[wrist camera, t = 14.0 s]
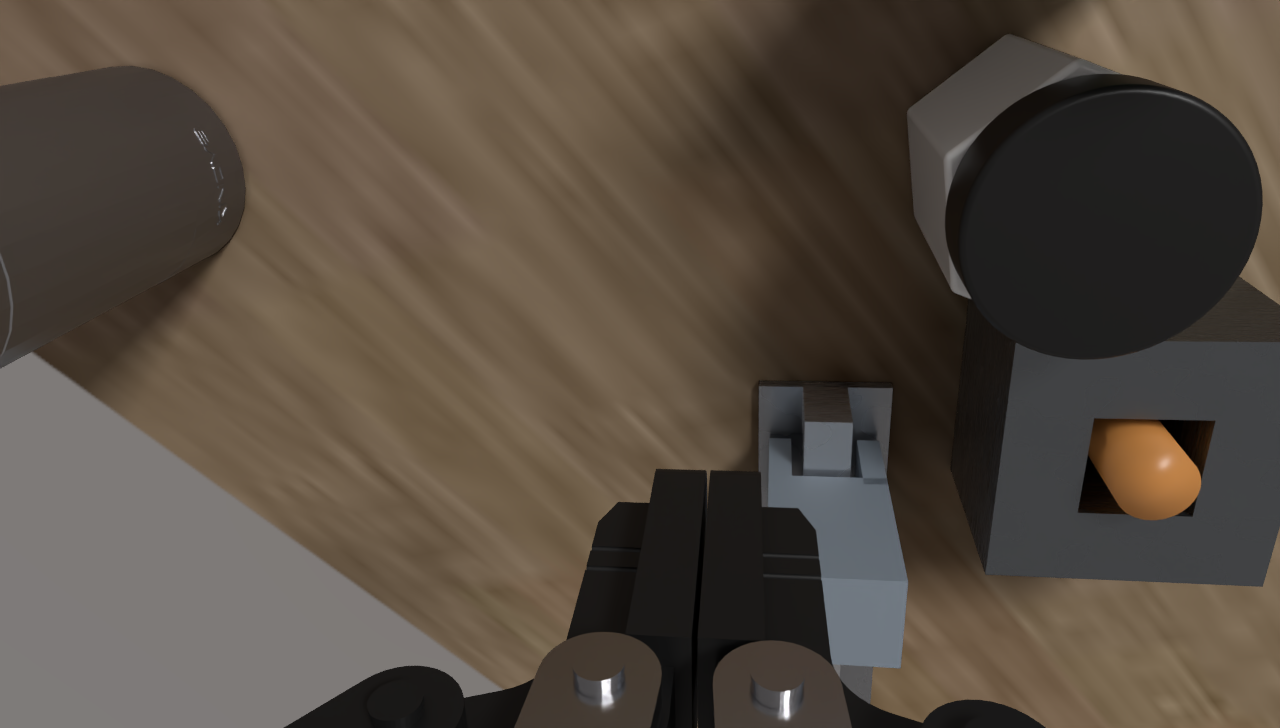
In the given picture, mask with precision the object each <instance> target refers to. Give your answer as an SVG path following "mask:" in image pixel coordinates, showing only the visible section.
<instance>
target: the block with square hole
mask: <svg viewBox="0 0 1280 728" xmlns="http://www.w3.org/2000/svg"><path fill="white" fill-rule="evenodd" d="M1094 418H1101V419H1154V420H1159V421H1160V422H1161V424H1162V425H1163V426H1164V427H1165V428H1166V430H1167V431H1168V432H1169V433H1170V435H1171V436H1172V437H1173V438H1174V440H1175V441H1176V442H1177V443H1178V445H1179V446H1180V447H1181V448H1182V449H1183V451H1184V452H1185V453H1186V454H1187V456H1188V457H1189V458H1190V459H1191V461H1192V462H1193V463H1194V464H1195V465H1196V467H1197V468H1198V470H1199V473H1200V476H1201V488H1200V491H1199V493H1198V495H1197V497H1196V499H1195V500H1194V502H1193V503H1192V504H1191V505H1190V506H1189V507H1188V508H1187V509H1185V510H1184V511H1182V512H1181V513H1179V514H1177V515H1175V516H1172V517H1169V518H1166V519H1161V520H1143V519H1138V518H1135V517H1133V516H1131V515H1129V514H1127V513H1126V512H1125V511H1123V510H1122V509H1121V508H1120V506H1119V505H1118V503H1117V502H1116V500H1115V498H1114V497H1113V495H1112V494H1111V492H1110V490H1109V489H1108V487H1107V485H1106V484H1105V482H1104V481H1103V479H1102V477H1101V476H1100V474H1099V472H1098V471H1097V469H1096V468H1095V466H1094V464H1093V463H1092V461H1091V459H1090V458H1089V456H1088V451H1089V445H1090V439H1091V434H1092V428H1093V422H1094ZM951 472H952V475H953V478H954V481H955V484H956V487H957V490H958V493H959V496H960V499H961V502H962V505H963V508H964V511H965V514H966V517H967V520H968V523H969V526H970V529H971V533H972V536H973V539H974V542H975V545H976V548H977V551H978V554H979V557H980V560H981V563H982V566H983V569H984V572H985V574H987V575H1010V576H1033V577H1055V578H1078V579H1101V580H1124V581H1147V582H1170V583H1192V584H1215V585H1238V586H1261V587H1263V583H1264V580H1265V576H1266V573H1267V569H1268V566H1269V562H1270V559H1271V555H1272V552H1273V548H1274V545H1275V541H1276V538H1277V534H1278V531H1279V527H1280V305H1279V304H1277V303H1276V302H1274V301H1273V300H1272V299H1270V298H1269V297H1267V296H1266V295H1265V294H1263V293H1262V292H1260V291H1259V290H1257V289H1256V288H1255V287H1253V286H1252V285H1250V284H1249V283H1248V282H1246V281H1245V280H1243V279H1242V278H1240V277H1238V278H1237V280H1236V281H1235V283H1234V284H1233V286H1232V287H1231V288H1230V289H1229V290H1228V292H1227V293H1226V294H1225V295H1224V297H1223V298H1222V299H1221V300H1220V301H1219V302H1218V303H1217V304H1216V305H1215V306H1214V307H1213V308H1212V309H1211V310H1210V311H1209V312H1207V313H1206V314H1205V315H1204V316H1203V317H1202V318H1200V319H1199V320H1198V321H1196V322H1195V323H1194V324H1192V325H1191V326H1190V327H1188V328H1187V329H1185V330H1183V331H1182V332H1180V333H1179V334H1177V335H1175V336H1173V337H1171V338H1170V339H1168V340H1166V341H1164V342H1162V343H1159V344H1157V345H1155V346H1152V347H1150V348H1147V349H1144V350H1141V351H1138V352H1135V353H1131V354H1127V355H1123V356H1118V357H1112V358H1105V359H1095V360H1079V359H1066V358H1060V357H1054V356H1050V355H1046V354H1043V353H1039V352H1037V351H1034V350H1031V349H1029V348H1026V347H1024V346H1022V345H1020V344H1018V343H1016V342H1015V341H1013V340H1011V339H1010V338H1008V337H1007V336H1005V335H1004V334H1002V333H1001V332H1000V331H998V330H997V329H996V328H995V327H994V326H993V325H992V324H991V323H990V322H988V321H987V319H986V318H985V317H984V316H983V315H982V314H981V312H980V311H979V310H978V308H977V307H976V305H975V304H974V302H973V301H972V299H969V298H968V308H967V317H966V327H965V336H964V346H963V355H962V365H961V374H960V384H959V393H958V403H957V412H956V422H955V431H954V441H953V450H952V460H951Z"/></svg>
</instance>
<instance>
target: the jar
mask: <svg viewBox="0 0 1280 728" xmlns="http://www.w3.org/2000/svg"><path fill="white" fill-rule="evenodd" d="M907 123H908V137H909V151H910V165H911V179H912V194H913V208H914V217H915V219H916V221H917V223H918V225H919V227H920V229H921V231H922V233H923V235H924V237H925V239H926V241H927V243H928V245H929V247H930V249H931V251H932V253H933V255H934V257H935V259H936V260H937V262H938V264H939V266H940V268H941V270H942V272H943V274H944V276H945V278H946V280H947V282H948V284H949V286H950V288H951V290H952V291H953V292H954V293H956V294H958V295H961V296H964V297H966V298H969V299H972V301H973V302H974V304H975V305H976V307H977V308H978V310H979V311H980V312H981V314H982V315H983V316H984V317H985V318H986V319H987V321H988V322H990V323H991V324H992V325H993V326H994V327H995V328H996V329H997V330H998V331H1000V332H1001V333H1002V334H1004V335H1005V336H1007V337H1008V338H1010V339H1011V340H1013V341H1015V342H1016V343H1018V344H1020V345H1022V346H1024V347H1026V348H1029V349H1031V350H1034V351H1037V352H1039V353H1043V354H1046V355H1050V356H1054V357H1060V358H1066V359H1079V360H1095V359H1105V358H1112V357H1118V356H1123V355H1127V354H1131V353H1135V352H1138V351H1141V350H1144V349H1147V348H1150V347H1152V346H1155V345H1157V344H1159V343H1162V342H1164V341H1166V340H1168V339H1170V338H1171V337H1173V336H1175V335H1177V334H1179V333H1180V332H1182V331H1183V330H1185V329H1187V328H1188V327H1190V326H1191V325H1192V324H1194V323H1195V322H1196V321H1198V320H1199V319H1200V318H1202V317H1203V316H1204V315H1205V314H1206V313H1207V312H1209V311H1210V310H1211V309H1212V308H1213V307H1214V306H1215V305H1216V304H1217V303H1218V302H1219V301H1220V300H1221V299H1222V298H1223V297H1224V295H1225V294H1226V293H1227V292H1228V290H1229V289H1230V288H1231V287H1232V286H1233V284H1234V283H1235V281H1236V280H1237V278H1238V277H1239V275H1240V274H1241V272H1242V270H1243V268H1244V267H1245V265H1246V263H1247V261H1248V259H1249V257H1250V255H1251V252H1252V250H1253V248H1254V245H1255V242H1256V239H1257V236H1258V232H1259V227H1260V222H1261V216H1262V206H1263V202H1262V185H1261V178H1260V174H1259V170H1258V166H1257V163H1256V161H1255V158H1254V155H1253V153H1252V151H1251V149H1250V147H1249V145H1248V144H1247V142H1246V140H1245V139H1244V137H1243V136H1242V134H1241V133H1240V132H1239V130H1238V129H1237V128H1236V127H1235V126H1234V124H1233V123H1232V122H1231V121H1230V120H1229V119H1228V118H1227V117H1226V116H1224V115H1223V114H1222V113H1221V112H1219V111H1218V110H1217V109H1215V108H1214V107H1213V106H1211V105H1210V104H1208V103H1206V102H1204V101H1203V100H1201V99H1199V98H1197V97H1195V96H1192V95H1190V94H1188V93H1185V92H1182V91H1179V90H1176V89H1174V88H1171V87H1168V86H1165V85H1162V84H1159V83H1156V82H1153V81H1151V80H1147V79H1144V78H1140V77H1135V76H1130V75H1123V74H1120V73H1118V72H1115V71H1112V70H1110V69H1107V68H1105V67H1102V66H1099V65H1097V64H1094V63H1092V62H1089V61H1087V60H1084V59H1081V58H1078V57H1076V56H1073V55H1070V54H1067V53H1064V52H1061V51H1059V50H1056V49H1053V48H1050V47H1047V46H1044V45H1042V44H1039V43H1036V42H1033V41H1030V40H1028V39H1025V38H1022V37H1019V36H1016V35H1013V34H1007V35H1005V36H1003V37H1002V38H1000V39H999V40H998V41H997V42H995V43H994V44H993V45H991V46H990V47H989V48H987V49H986V50H985V51H984V52H982V53H981V54H980V55H978V56H977V57H976V58H974V59H973V60H972V61H970V62H969V63H968V64H967V65H965V66H964V67H963V68H961V69H960V70H959V71H957V72H956V73H955V74H953V75H952V76H951V77H949V78H948V79H947V80H946V81H944V82H943V83H942V84H940V85H939V86H938V87H936V88H935V89H934V90H932V91H931V92H930V93H928V94H927V95H926V96H924V97H923V98H922V99H920V100H919V101H918V102H917V103H915V104H914V105H913V106H911V107H910V108H909V109H908V111H907Z"/></svg>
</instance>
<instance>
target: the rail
mask: <svg viewBox="0 0 1280 728" xmlns="http://www.w3.org/2000/svg"><path fill="white" fill-rule="evenodd" d="M892 393H893V387H892V383H886V382H815V381H759V472H761V492H762V507H768V482H769V438H784V439H791V459H792V476H818V477H853V478H855V465H856V446H857V440H869V441H879V443H880V448H881V452H882V457H883V462H884V467H885V472H886V476H887V462H888V448H889V434H890V420H891V407H892ZM833 666H834V669H835V671H836V672H837V674H838V676H839V678H840V679H841V681H842V682H843V683H844V684H845V685H846V686H847V687H848V688H849V689H850V690H851V691H852V692H853V693H854V694H856V695H857V696H858V697H859V698H861V699H863V700H864V701H866V702H867V703H869V704H870V699H871V685H872V671H873V667H871V666H854V665H837V664H833Z"/></svg>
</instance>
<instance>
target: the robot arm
mask: <svg viewBox="0 0 1280 728" xmlns="http://www.w3.org/2000/svg"><path fill="white" fill-rule="evenodd" d="M244 202H245V181H244V173H243V167H242V164H241V161H240V158H239V155H238V152H237V149H236V146H235V144H234V142H233V140H232V138H231V136H230V135H229V133H228V131H227V129H226V127H225V125H224V124H223V123H222V121H221V120H220V119H219V118H218V116H217V115H216V114H215V112H214V111H213V110H212V108H211V107H210V106H209V105H208V104H207V103H206V102H204V101H203V100H202V99H201V98H200V97H199V96H198V95H197V94H196V93H195V92H194V91H193V90H191V89H189V88H188V87H186V86H185V85H183V84H182V83H180V82H179V81H177V80H176V79H174V78H172V77H170V76H167V75H165V74H162V73H160V72H157V71H155V70H152V69H147V68H141V67H136V66H118V67H108V68H102V69H97V70H91V71H85V72H79V73H74V74H68V75H62V76H56V77H48V78H42V79H37V80H31V81H25V82H20V83H14V84H8V85H3V86H0V368H2V367H4V366H6V365H7V364H9V363H11V362H13V361H15V360H17V359H19V358H21V357H22V356H25V355H26V354H28V353H30V352H32V351H34V350H36V349H38V348H39V347H41V346H43V345H45V344H47V343H49V342H51V341H53V340H54V339H56V338H58V337H60V336H62V335H64V334H66V333H67V332H69V331H71V330H73V329H75V328H77V327H79V326H81V325H82V324H84V323H86V322H88V321H90V320H92V319H94V318H95V317H97V316H99V315H101V314H103V313H105V312H107V311H109V310H110V309H112V308H114V307H116V306H118V305H120V304H122V303H123V302H125V301H127V300H129V299H131V298H133V297H135V296H137V295H138V294H140V293H142V292H144V291H146V290H148V289H150V288H151V287H153V286H155V285H157V284H159V283H161V282H163V281H165V280H167V279H169V278H170V277H172V276H174V275H176V274H178V273H180V272H181V271H183V270H185V269H187V268H189V267H191V266H192V265H194V264H196V263H198V262H200V261H202V260H203V259H205V258H207V257H209V256H211V255H213V254H214V253H216V252H218V251H219V250H220V249H221V248H222V247H223V246H224V245H225V244H226V243H227V242H228V241H229V240H230V239H231V237H232V236H233V234H234V232H235V231H236V229H237V227H238V226H239V223H240V220H241V216H242V213H243V210H244ZM697 724H698V728H1045V727H1044V726H1043V725H1041V724H1040V723H1039V722H1037V721H1035V720H1034V719H1032V718H1031V717H1029V716H1028V715H1026V714H1024V713H1022V712H1020V711H1018V710H1016V709H1013V708H1011V707H1008V706H1005V705H1002V704H998V703H994V702H990V701H983V700H961V701H954V702H951V703H947V704H945V705H942V706H940V707H938V708H937V709H935V710H934V711H933V712H931V713H930V714H929V715H928V716H927V718H926V719H925V720H924V722H923V723H921V722H917V721H914V720H911V719H908V718H905V717H901V716H898V715H895V714H892V713H889V712H887V711H884V710H881V709H879V708H877V707H875V706H873V705H871V704H869V703H867V702H866V701H864V700H863V699H861V698H859V697H858V696H857V695H856V694H854V693H853V692H852V691H851V690H850V689H849V688H848V687H847V686H846V685H845V684H844V683H843V682H842V681H841V679H840V678H839V676H838V674H837V672H836V671H835V669H834V666H833V664H832V659H831V653H830V645H829V636H828V628H827V619H826V611H825V602H824V594H823V585H822V580H821V568H820V560H819V551H818V543H817V534H816V529H815V528H814V527H813V526H812V524H811V523H810V522H809V521H808V520H807V518H806V517H805V516H804V515H803V513H802V512H801V511H800V510H799V508H781V507H762V492H761V472H747V471H714V470H711V471H710V483H709V496H708V509H707V472H706V470H676V469H656V471H655V476H654V482H653V487H652V492H651V498H650V503H632V502H618V503H617V504H616V505H615V506H614V507H613V508H612V509H611V510H610V511H609V512H608V513H607V514H606V515H605V516H604V517H603V518H602V519H601V520H600V521H599V522H598V525H597V529H596V533H595V536H594V540H593V544H592V551H590V555H589V559H588V562H587V570H585V573H584V577H583V581H582V584H581V588H580V592H579V595H578V599H577V603H576V607H575V610H574V614H573V618H572V621H571V625H570V629H569V632H568V636H567V640H566V641H564V642H562V643H561V644H559V645H558V646H556V647H555V648H553V649H552V650H551V651H550V652H549V653H548V654H547V655H546V656H545V658H544V659H543V660H542V662H541V664H540V666H539V668H538V670H537V673H536V675H535V678H534V679H532V680H530V681H528V682H526V683H524V684H522V685H519V686H516V687H513V688H510V689H506V690H502V691H497V692H492V693H487V694H482V695H477V696H471V697H466V698H464V697H463V693H462V690H461V688H460V686H459V684H458V683H457V682H456V681H455V680H454V679H453V678H452V677H451V676H449V675H448V674H446V673H445V672H442V671H440V670H438V669H435V668H430V667H424V666H404V667H397V668H393V669H389V670H386V671H383V672H380V673H378V674H375V675H373V676H371V677H369V678H367V679H365V680H363V681H362V682H360V683H359V684H357V685H355V686H353V687H352V688H350V689H348V690H346V691H345V692H343V693H341V694H340V695H338V696H337V697H335V698H333V699H331V700H330V701H328V702H326V703H325V704H323V705H321V706H320V707H318V708H316V709H315V710H313V711H311V712H309V713H308V714H306V715H305V716H303V717H301V718H300V719H298V720H296V721H294V722H293V723H291V724H289V725H288V726H286V727H284V728H697Z"/></svg>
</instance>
